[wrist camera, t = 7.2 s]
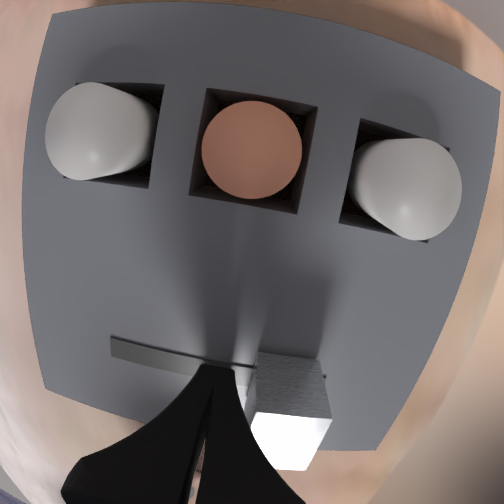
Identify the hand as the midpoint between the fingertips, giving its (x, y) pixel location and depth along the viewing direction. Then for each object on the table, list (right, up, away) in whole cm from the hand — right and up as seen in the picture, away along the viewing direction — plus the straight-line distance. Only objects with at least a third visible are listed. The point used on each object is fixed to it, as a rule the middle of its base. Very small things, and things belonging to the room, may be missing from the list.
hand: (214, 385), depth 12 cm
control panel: (+1, +5, +2) cm, 6 cm away
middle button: (+1, +9, +1) cm, 9 cm away
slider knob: (+3, 0, +1) cm, 3 cm away
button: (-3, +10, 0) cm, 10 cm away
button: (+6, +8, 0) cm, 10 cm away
